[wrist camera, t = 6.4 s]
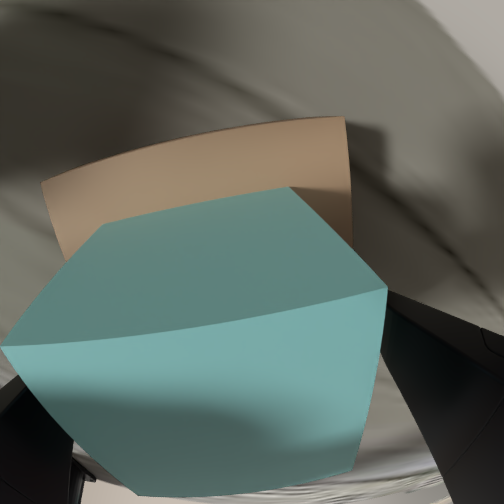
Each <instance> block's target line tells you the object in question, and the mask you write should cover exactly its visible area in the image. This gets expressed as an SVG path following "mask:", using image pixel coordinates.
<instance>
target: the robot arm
mask: <svg viewBox="0 0 504 504" xmlns="http://www.w3.org/2000/svg"><path fill="white" fill-rule="evenodd" d="M380 352H381V355H382V357H383V360H384V362H385V364H386V366H387V368H388V370H389V372H390V373H391V375H392V377H393V379H394V381H395V383H396V384H397V386H398V388H399V390H400V392H401V394H402V396H403V398H404V400H405V402H406V403H407V405H408V407H409V409H410V411H411V413H412V415H413V417H414V419H415V421H416V423H417V425H418V427H419V429H420V431H421V433H422V435H423V437H424V439H425V441H426V443H427V445H428V447H429V450H430V452H431V454H432V456H433V458H434V460H435V462H436V464H437V467H438V469H439V471H440V473H441V475H442V477H443V480H444V483H445V485H446V487H447V489H448V492H449V494H450V496H451V499H452V501H453V503H454V504H504V336H502V335H499V334H497V333H494V332H492V331H489V330H487V329H484V328H480V327H479V326H477V325H474V324H472V323H469V322H467V321H465V320H462V319H460V318H457V317H455V316H452V315H450V314H447V313H445V312H442V311H440V310H437V309H435V308H432V307H430V306H427V305H425V304H422V303H420V302H417V301H415V300H412V299H410V298H407V297H405V296H402V295H400V294H397V293H394V292H392V291H389V290H388V292H387V302H386V311H385V319H384V327H383V334H382V341H381V348H380ZM73 443H74V440H73V439H72V438H71V437H70V436H69V435H68V434H67V433H66V431H65V430H64V429H63V428H62V427H61V426H60V425H59V424H58V423H57V422H56V421H55V419H54V418H53V417H52V416H51V415H50V414H49V413H48V411H47V410H46V409H45V408H44V407H43V406H42V404H41V403H40V402H39V401H38V399H37V398H36V397H35V396H34V394H33V393H32V392H31V391H30V389H29V388H28V387H27V385H26V384H25V383H24V381H23V380H22V379H21V377H20V376H19V375H17V376H16V377H15V378H13V379H12V380H11V381H10V382H9V383H7V384H6V385H5V386H4V387H3V388H1V389H0V504H81V498H82V493H83V487H84V482H85V481H89V482H96V478H95V477H94V476H93V475H91V474H90V473H89V472H88V471H87V470H85V469H84V468H83V467H82V466H81V465H79V464H78V463H77V462H76V461H75V460H74V459H73V458H72V451H73Z"/></svg>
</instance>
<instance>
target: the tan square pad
mask: <svg viewBox="0 0 504 504" xmlns="http://www.w3.org/2000/svg"><path fill="white" fill-rule="evenodd" d="M40 184H41V188H42V192H43V195H44V199H45V202H46V205H47V209H48V212H49V215H50V218H51V221H52V225H53V228H54V230H55V233H56V236H57V239H58V242H59V245H60V247H61V250H62V253H63V255H64V258H65V261H66V262H67V261H68V260H69V259H70V258H71V257H72V256H73V254H74V253H75V252H76V251H77V250H78V249H79V248H80V247H81V246H82V245H83V244H84V243H85V242H86V241H87V240H88V239H89V238H90V236H91V235H92V234H93V233H94V232H95V231H96V230H97V229H98V228H99V227H100V226H101V225H102V224H106V223H110V222H114V221H118V220H122V219H126V218H130V217H135V216H139V215H143V214H148V213H152V212H156V211H161V210H166V209H170V208H175V207H180V206H184V205H189V204H194V203H199V202H204V201H209V200H214V199H220V198H225V197H230V196H236V195H241V194H247V193H253V192H258V191H264V190H270V189H276V188H283V187H290V188H291V189H292V190H293V191H294V192H295V193H296V194H297V195H298V196H299V197H300V198H301V199H302V200H303V201H304V202H305V203H307V204H308V205H309V206H310V207H311V208H312V209H313V210H314V211H315V212H316V213H317V214H318V215H319V216H320V217H321V218H322V219H323V220H324V221H325V222H326V223H327V224H328V225H329V226H330V227H331V228H332V229H333V230H334V231H335V232H336V233H337V234H338V235H339V236H340V237H341V238H342V239H343V240H344V241H345V242H346V243H347V244H348V245H349V246H350V247H351V248H352V249H353V221H352V198H351V182H350V168H349V156H348V145H347V135H346V126H345V118H344V116H327V117H307V118H297V119H288V120H280V121H272V122H264V123H257V124H251V125H244V126H238V127H232V128H226V129H221V130H215V131H210V132H205V133H200V134H195V135H191V136H186V137H181V138H177V139H173V140H168V141H164V142H160V143H156V144H152V145H148V146H145V147H141V148H137V149H134V150H130V151H126V152H123V153H119V154H116V155H113V156H109V157H106V158H103V159H100V160H97V161H94V162H91V163H88V164H85V165H82V166H79V167H76V168H73V169H71V170H68V171H66V172H63V173H61V174H59V175H56V176H54V177H51V178H49V179H47V180H45V181H42V182H40Z"/></svg>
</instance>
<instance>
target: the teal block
mask: <svg viewBox="0 0 504 504" xmlns="http://www.w3.org/2000/svg"><path fill="white" fill-rule="evenodd" d="M387 292H388V287H387V285H386V284H385V283H384V282H383V281H382V280H381V279H380V278H379V277H378V276H377V275H376V273H375V272H374V271H373V270H372V269H371V268H370V267H369V266H368V265H367V264H366V263H365V262H364V261H363V260H362V259H361V258H360V256H359V255H358V254H357V253H356V252H355V251H354V250H353V249H352V248H351V247H350V246H349V245H348V244H347V243H346V242H345V241H344V240H343V239H342V238H341V237H340V236H339V235H338V234H337V233H336V232H335V231H334V230H333V229H332V228H331V227H330V226H329V225H328V224H327V223H326V222H325V221H324V220H323V219H322V218H321V217H320V216H319V215H318V214H317V213H316V212H315V211H314V210H313V209H312V208H311V207H310V206H309V205H308V204H307V203H305V202H304V201H303V200H302V199H301V198H300V197H299V196H298V195H297V194H296V193H295V192H294V191H293V190H292V189H291V188H290V187H283V188H276V189H270V190H264V191H258V192H253V193H247V194H241V195H236V196H230V197H225V198H220V199H214V200H209V201H204V202H199V203H194V204H189V205H184V206H180V207H175V208H170V209H166V210H161V211H156V212H152V213H148V214H143V215H139V216H135V217H130V218H126V219H122V220H118V221H114V222H110V223H106V224H102V225H101V226H100V227H99V228H98V229H97V230H96V231H95V232H94V233H93V234H92V235H91V236H90V238H89V239H88V240H87V241H86V242H85V243H84V244H83V245H82V246H81V247H80V248H79V249H78V250H77V251H76V252H75V253H74V254H73V256H72V257H71V258H70V259H69V260H68V261H67V262H66V263H65V264H64V266H63V267H62V268H61V269H60V270H59V271H58V272H57V274H56V275H55V276H54V277H53V278H52V279H51V280H50V282H49V283H48V284H47V285H46V286H45V288H44V289H43V290H42V291H41V292H40V294H39V295H38V296H37V297H36V299H35V300H34V301H33V302H32V304H31V305H30V306H29V307H28V309H27V310H26V311H25V312H24V314H23V315H22V316H21V318H20V319H19V320H18V322H17V323H16V324H15V326H14V327H13V328H12V330H11V331H10V333H9V334H8V335H7V337H6V338H5V340H4V341H3V342H2V344H1V345H0V348H1V349H2V351H3V353H4V354H5V356H6V357H7V359H8V360H9V362H10V363H11V365H12V366H13V367H14V369H15V370H16V372H17V373H18V375H19V376H20V377H21V379H22V380H23V381H24V383H25V384H26V385H27V387H28V388H29V389H30V391H31V392H32V393H33V394H34V396H35V397H36V398H37V399H38V401H39V402H40V403H41V404H42V406H43V407H44V408H45V409H46V410H47V411H48V413H49V414H50V415H51V416H52V417H53V418H54V419H55V421H56V422H57V423H58V424H59V425H60V426H61V427H62V428H63V429H64V430H65V431H66V433H67V434H68V435H69V436H70V437H71V438H72V439H73V440H74V441H75V442H76V443H77V444H78V445H79V446H80V447H81V448H82V449H83V450H84V451H85V452H87V453H88V454H89V455H90V456H91V457H92V458H93V459H94V460H95V461H96V462H97V463H98V464H100V465H101V466H102V467H103V468H104V469H105V470H106V471H108V472H109V473H110V474H111V475H112V476H114V477H115V478H116V479H117V480H118V481H120V482H121V483H122V484H123V485H125V486H126V487H127V488H129V489H130V490H131V491H133V492H134V493H135V494H137V495H138V496H150V497H207V496H222V495H234V494H243V493H251V492H259V491H265V490H272V489H277V488H283V487H288V486H293V485H298V484H303V483H307V482H311V481H316V480H320V479H323V478H327V477H331V476H335V475H338V474H341V473H345V472H348V471H351V470H352V469H353V466H354V462H355V459H356V456H357V452H358V449H359V445H360V442H361V438H362V434H363V430H364V426H365V422H366V418H367V414H368V410H369V406H370V401H371V397H372V392H373V387H374V382H375V377H376V371H377V366H378V360H379V354H380V348H381V341H382V334H383V327H384V319H385V311H386V302H387Z"/></svg>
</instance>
